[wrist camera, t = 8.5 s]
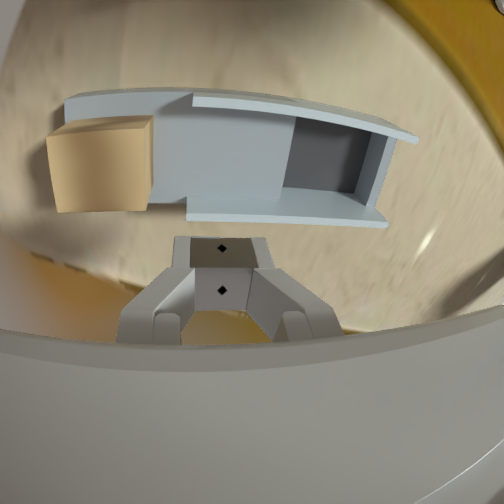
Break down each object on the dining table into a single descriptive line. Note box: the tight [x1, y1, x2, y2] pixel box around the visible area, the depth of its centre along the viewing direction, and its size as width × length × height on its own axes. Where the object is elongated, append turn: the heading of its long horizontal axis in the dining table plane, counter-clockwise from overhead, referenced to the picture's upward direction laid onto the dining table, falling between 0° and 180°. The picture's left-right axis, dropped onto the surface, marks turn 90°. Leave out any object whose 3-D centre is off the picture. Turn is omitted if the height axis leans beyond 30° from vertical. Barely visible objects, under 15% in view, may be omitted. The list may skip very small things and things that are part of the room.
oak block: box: [46, 115, 154, 213], centre depth 16 cm, size 6×5×4 cm
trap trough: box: [64, 88, 419, 228], centre depth 19 cm, size 25×8×6 cm, turn 82°
